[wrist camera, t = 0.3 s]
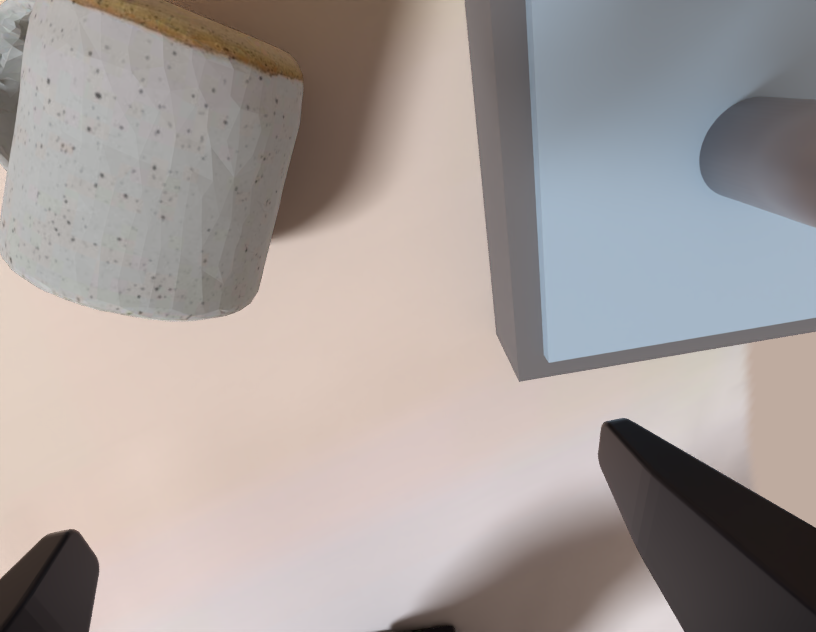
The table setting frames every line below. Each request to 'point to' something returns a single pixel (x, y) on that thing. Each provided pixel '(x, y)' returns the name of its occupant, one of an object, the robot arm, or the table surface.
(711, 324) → the square plate with knob
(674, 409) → the table surface
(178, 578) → the table surface
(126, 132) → the ceramic mug
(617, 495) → the robot arm
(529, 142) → the gray square slab
